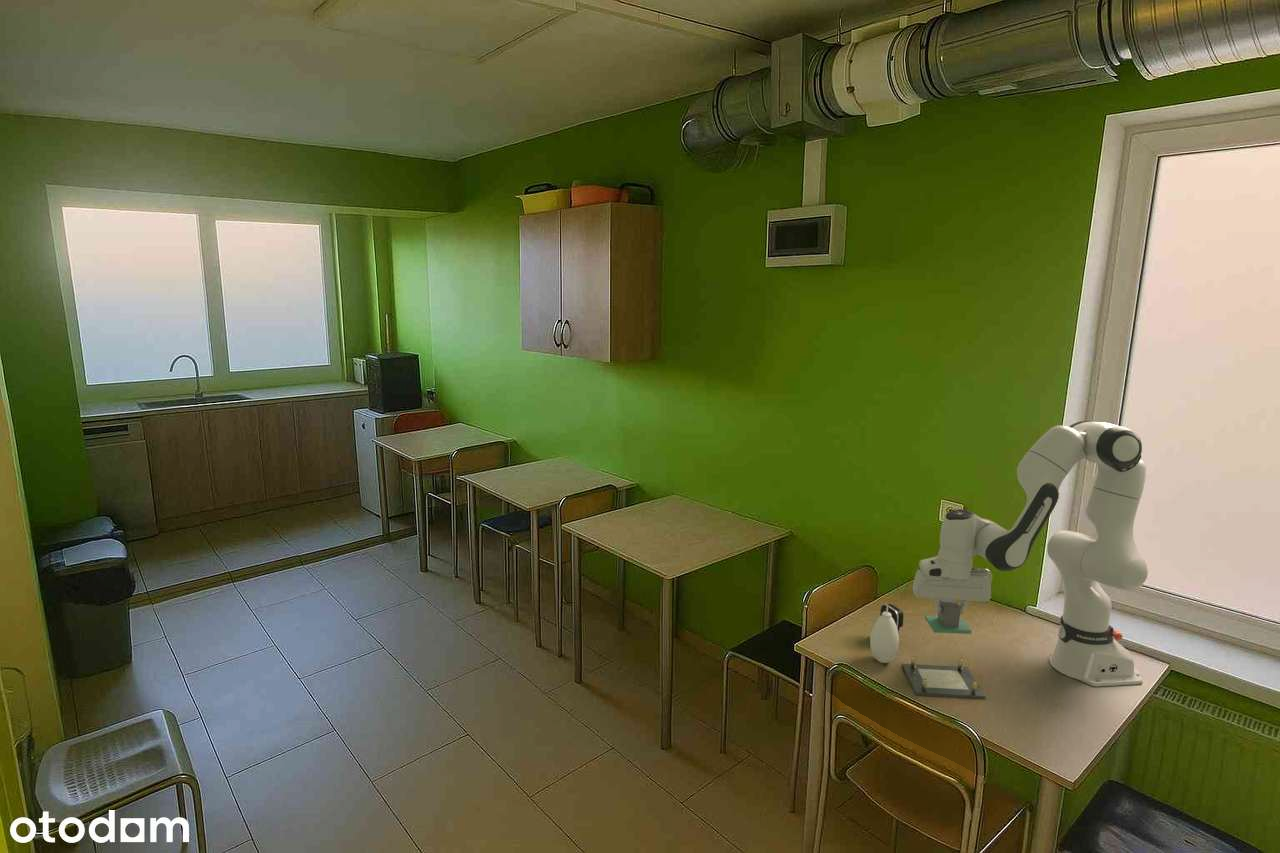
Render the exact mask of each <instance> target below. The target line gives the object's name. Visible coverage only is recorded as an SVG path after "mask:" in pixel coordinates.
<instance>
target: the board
mask: <svg viewBox="0 0 1280 853" xmlns="http://www.w3.org/2000/svg"><path fill="white" fill-rule="evenodd" d="M938 604H939V605H942V607H943V610H942V611H943V613H937V615H931V614H930V615H929V614H927V615H926V614H925V615H924V620H925V621H926V622H927V624H928V625H929V627H930V628H931V630H932V631H933V633H938V634H939V633H940V634H941V633H942V634H961V635H963V634H965V635H966V634H968V635H970V634H971V635H972V629H971V627H970V626H969V625H968V624H967V623H966V621H965V620H964V619H963V617H961V614H960V610H961V607H960V606H959V605H960V604H958V603H957V600H946V599H940V602H938Z"/></svg>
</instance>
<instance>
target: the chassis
mask: <svg viewBox="0 0 1280 853" xmlns="http://www.w3.org/2000/svg"><path fill="white" fill-rule="evenodd" d="M916 663H917V657H916V656H914V655H913V656H911V659H910V663H902V665H901V667H902V669H903V670H904V673H905V675H906V677H907V679H908V681H909V683H910V685H911V688H912V690H913V692H914V695H915V696H927V697H928V696H930V697H943V698H944V697H946V698H947V697H948V698H961V699H962V698H963V699H976V700H977V699H978V700H979V699H981V700H982V699H983V700H985V699H987V698H986V697H987V696H986V694H985V693H984V691H983V690H982V687H981V686H980V685H979V682H978V681H977V680H976V679H975V677H974V676H973V674H972V672H971V670H970V669H969V667H968V666H964V659H962V658H958V664H957V665H955V666H954V665H940V664H939V665H938V664H937V665H936V664H934V665H933V664H919V663H918V664H916Z"/></svg>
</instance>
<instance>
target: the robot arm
mask: <svg viewBox="0 0 1280 853" xmlns="http://www.w3.org/2000/svg"><path fill="white" fill-rule="evenodd" d="M1142 452H1143V443H1142V440H1141V437H1140V436H1139V434H1137V432H1135V431H1134V430H1132V429H1130V428H1128V427H1125V426H1122V425H1121V426H1120V425H1117V424H1114V423H1110V422H1103V421H1100V422H1099V421H1092V420H1080V421H1077V422H1074V423H1072V424H1070V425H1069V426H1066V425H1055V426H1052V427H1051V428H1050V429H1048V430H1047V431H1046V432H1045V433H1044V434H1043V435H1041V437H1039V439H1038V440H1037V441H1036V442H1035V443H1034V444H1033V445H1032V446H1031V447H1030V448H1029V450H1028V451H1027V452H1026V454H1024V456H1023V457H1022V458H1021V459H1020V462H1019V463H1018V466H1017V468H1016V475H1017V476H1016V477H1017V480H1018V482H1019V484H1020V485H1021V487H1022V489H1023V490H1024V492H1025V494H1026V504H1025V505H1024V507H1023V509H1022V511H1021V513H1019V514H1020V515H1019V516H1018V517H1017V520H1016V521H1015V522H1014V524H1013V526H1012V527H1011V528H1010V529H1009V530H1008V529H1006V528H1004V527H1003V526H1001V525H1000V524H998V523H996V522H994V521H992V520H990V519H987V518H983V517H980V516H979V515H977V514H975V513H974V512H973V511H972V510H968V509H961V508H960V509H953V510H950V511H948V512H947V513H946V514H945V515H944V518H943V519H942V523H941V528H940V532H939V533H940V534H939V545H940V548H939V550H938V552H937V555H936V556H933V557H929V558H925V559H924V558H923V559H921V560H919V563H918V566H919V568H920V569H917V571H916V572H915V576H914V579H913V581H912V582H913V584H912V591H913V594H914V595H915V597H916V598H917V599H927V600H928V599H929V600H930V599H931V600H933V602H934V605H935V612H936V613H937V614H938V613H943V611H942V610H943V607H942V605H939V602H940V599H946V600H955V601H961V603H960V604H958V605H959V606H960V607H961V610H960V615H963V614H964V610H965V608H966V607H967V606H969V603H970V602H984V603H986V602H988V601H990V600H991V597H992V588H991V587H992V586H991V583H993V582H992V581H993V572H992V571H990V570H989V569H988V568H979V567H973V562H974V561H973V560H974V557H975V556H977V555H978V556H980V557H982V558H984V559H985V560H986V561H987V562H988V563H990V565H992V566H993V567H994V568H995V569H997V570H999V571H1000V572H1011V571H1015V570H1017V569H1020V568H1021V567H1023V565H1024V564H1025V563H1026V562H1027V560H1028V558H1029V555H1030V552H1031V549H1032V547H1033V545H1034V544H1035V543H1034V542H1035V540H1036V539H1037V538H1038V537H1039V534H1040V532H1041V531H1042V530H1043V527H1044V526H1045V525H1046V522H1047V521H1048V519H1049V518H1050V516H1051V514H1052V512H1053V511H1054V509H1055V507H1056V505H1057V504H1058V501H1059V498H1060V493H1059V490H1060V487H1061V485H1062V483H1063V481H1064V479H1065V478H1066V477H1067V476H1068V475H1069V474H1070V472H1071V470H1072V469H1073V468H1074V466H1075V465H1076V464H1077V463H1078V462H1079V461H1082V460H1086V461H1089V462H1092V463H1095V464H1096V465H1097V474H1096V477H1095V481H1094V484H1093V487H1092V489H1091V493H1090V496H1089V498H1088V502H1087V504H1086V505H1087V506H1086V508H1085V514H1086V517H1087V519H1088V521H1089V522H1090V523H1092V525H1093V526H1094V527H1095V530H1096V534H1097V537H1096V538H1095V537H1092V536H1090V535H1086V534H1084V533H1081V532H1077V531H1072V530H1065V529H1063V530H1062V529H1061V530H1058V531H1056V532H1055V533H1054V534H1052V535H1051V537H1050V538H1049V539H1048V542H1047V545H1046V546H1047V547H1046V550H1047V555H1048V558H1050V560H1051V561H1052V562H1053V563H1054V565H1055V567H1056V568H1057V570H1058V573H1059V575H1060V578H1061V581H1062V585H1063V589H1064V602H1063V612H1062V615H1061V617H1060V620H1059V625H1058V634H1057V635H1058V638H1057V642H1056V644H1055V647H1054V649H1053V652H1052V653H1051V655H1050V657H1049V660H1048V661H1049V663H1050V665H1051V666H1052V667H1053V668H1054V669H1055V670H1057V671H1058V672H1060V673H1061V674H1063V675H1065V676H1067V677H1069V678H1072V679H1075V680H1078V681H1082V682H1083V683H1084V684H1087V685H1089V686H1092V687H1095V688H1096V687H1097V688H1098V687H1108V686H1109V687H1111V686H1112V687H1113V686H1128V685H1142V684H1143V683H1144V682H1143V680H1144V679H1143V676H1142V673H1141V672H1140V671H1139V670H1138V669H1137V668H1136V667H1135V663H1134V659H1133V656H1132V655H1131V653H1130V652H1129V651H1128V650H1127V649H1126V648H1125V647H1124V646H1123V645H1122V644H1121V643H1120V642H1119V641H1120V640H1122V639H1123V637H1124V636H1123V634H1122V633H1121V632H1120V631H1119V630H1116V629H1114V627H1112V625H1110V620H1111V612H1112V609H1113V608H1112V607H1113V606H1112V604H1113V603H1112V601H1111V598H1110V597H1109V595H1108V594H1107V593H1106V591H1105V590H1104V589H1103V588H1102V586H1101V585H1104V586H1107V587H1109V588H1112V589H1115V590H1116V589H1117V590H1120V591H1126V592H1133V591H1135V590H1137V589H1139V588H1140V587H1141V586H1143V585H1144V583H1145V582H1146V580H1147V578H1148V572H1149V571H1148V570H1149V569H1148V565H1147V562H1146V561H1145V560H1144V558H1143V557H1142V556H1141V555H1140V553H1139V551H1138V548H1137V546H1136V544H1135V538H1134V525H1135V524H1134V522H1135V518H1136V515H1137V511H1138V507H1139V504H1140V501H1141V498H1142V496H1143V491H1144V487H1145V482H1146V476H1147V474H1146V473H1147V466H1146V462H1144V461H1143V459H1142ZM1100 584H1101V585H1100Z"/></svg>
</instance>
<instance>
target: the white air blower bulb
mask: <svg viewBox="0 0 1280 853" xmlns="http://www.w3.org/2000/svg"><path fill="white" fill-rule="evenodd" d="M891 616H892V615H891V613H889V612H888V605H887V609H886V612H883V613H882V615H881V616H880V615H879V617H878V618H877V620H876V621H875V622H874V625H873V627H872V629H871V633H870V641H869V645H870V651H871V653H872V656H873V657H874V659H876V660H877V661H878V662H879V663H882V664H887V663H889V662H892V661H893V659H894V658H895V657H896V656H897V653H898V650H899V646H900V645H899V644H900V637H899V636H900V635H899V632H898V630H897V626H896V624H895V621H894V619H893V618H892V617H891Z"/></svg>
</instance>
